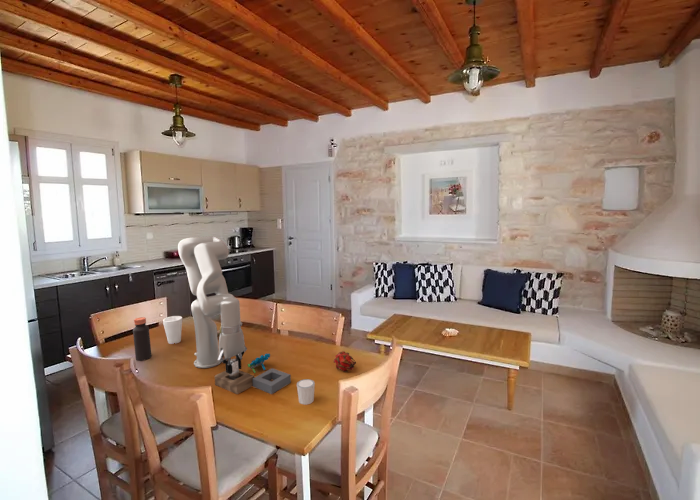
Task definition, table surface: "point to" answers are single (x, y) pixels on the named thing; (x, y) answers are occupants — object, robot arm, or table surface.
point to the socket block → (278, 381)
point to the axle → (234, 369)
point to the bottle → (141, 339)
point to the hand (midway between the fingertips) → (233, 370)
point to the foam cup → (173, 328)
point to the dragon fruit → (344, 361)
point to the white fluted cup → (306, 391)
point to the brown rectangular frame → (234, 382)
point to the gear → (259, 362)
